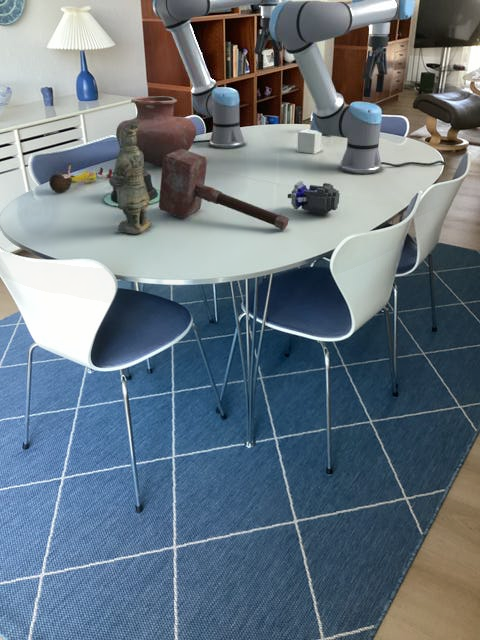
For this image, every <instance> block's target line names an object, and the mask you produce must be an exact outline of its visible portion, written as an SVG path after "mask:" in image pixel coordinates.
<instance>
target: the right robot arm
mask: <svg viewBox="0 0 480 640" xmlns="http://www.w3.org/2000/svg"><path fill="white" fill-rule="evenodd" d="M415 4H416V3H415V0H351V2H350V3H347V2H345V1H323V0H296V1H293V0H287V1H286V0H285V1H281V2H279V3H277V5H276V6H275V8H274V9H273V11H272V14H271V17H270V22H269V29H270V34H271V36H272V38H273V39H274V40H276V41H279V42H280V41H281V43H282V46H283V47H284V49H285V51H286V53H287V54H289V55H292V56H293V58H294V60H295V63H296V64H297V67H298V70H299V71H300V75H301V76H302V78H303V80H304V83H305V85H306V87H307V89H308V92H309V94H310V96H311V98H312V100H313V103H314V105H313V109H312V114H311V116H312V119H311V121H312V123H313V126H314V128H315V129H316V130H317V131H318V132H320V133H323V134H322V135H325V136H332V137H338V138H344V139H347V140H346V149H345V151H344V154H343V156H342V158H341V160H340V163H339V164H340V170H341V171H343V172H345V173H349V174H355V175H356V174H357V175H369V174H370V175H371V174H376V173H378V172H380V171H382V165H385V166H390V167H394V168H395V167H402V166H403V167H404V166H406V165H416V166H434V165H436V164H442V165H444V166H446V165H447V164H446V162H445V161H444V160H436V161H434V162H417V161H406V162H402V163H397V164H395V163H391V162H385V161H381V155H380V150H379V147H380V145H379V144H380V138H381V137H380V136H381V129H382V128H381V127H382V121H383V119H382V116H383V114H382V113H383V112H382V108H381V107H380V106H379V105H378V104H375V103H371V102H368V101H365V102H364V101H353V102H351V103H350V104H347V103H346V102H345V99H344V96H343V95H342V94H341V93H339V92H337V91H336V88H335V85H334V83H333V80H332V78H331V76H330V73H329V71H328V68H327V65H326V63H325V61H324V58H323V55H322V52H321V51H320V48H319V46H318V43H319V42H323V41H327V40H331V39H334V38H337V37H342V36H344V35H346V34H348V33H349V32H350V31H352V30H357V29H360V28H365V27H368V29H369V31H368V33H369V36H368V41H367V42H368V43H367V46H368V47H369V48H371V50H368V51H367V57H366V61H365V65H364V68H363V73H362V80H364V83H363V84H364V85H363V96H362V97H363V98H371V97H372V96H371V95H372V87H373V75H374V72H375V69H376V68H377V73H378V74H377V77H376V85H375V86H376V88H375V93H383V92H384V85H385V76H387V75H388V61H387V47H389V41H390V40H389V39H390V37H389V34H390V31H391V30H390V29H391V21H394V20H401V21H403V20H408V19H410V18H411V17H412V16H413V14H414V10H415Z"/></svg>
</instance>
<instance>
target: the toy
mask: <svg viewBox="0 0 480 640" xmlns="http://www.w3.org/2000/svg"><path fill="white" fill-rule="evenodd" d="M293 187H294V188H293V189H292V191H291V193H288V194H287V199H291V200H290V201H291V202H290V203H291V206H292V207H293V210H298V209H299V208H301V210H303V211H306V212H307V214H310V215H311V214H312V215H318V216H326V215H328V213H330V212H331V211H336V210H337V209H338V205H339V204H340V194H341V193H340V190H338V189H337V188H335V187H334V184H332V183H328V182H324V183H322V185H315V184H310V185H309V186H308V187H309V188H308V187H307V185H306V184H305V183H304V181H301V180H299V181H298V182H296V183H295V184H294V186H293Z"/></svg>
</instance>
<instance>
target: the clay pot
mask: <svg viewBox="0 0 480 640" xmlns="http://www.w3.org/2000/svg"><path fill="white" fill-rule="evenodd" d="M130 102H131V103H134V105H135V107H136V112H137V113H136V116H135V117H134V118H130V119H128V120H127V119H126V120H122V121H121V122H120V123H119V124H118V125H117V127H116V133H115V137H116V139H117V142H119V140H118V138H119V133H120V130H121V129H123V128H124V127H125V126H126V125H127V124H128V123H131V122H133V121H137V122H138V123H139V127H138V130H137V131H136V138H137V143H136V146H137V147H138V149H139V150H141V151H142V153H143V156H144V163H147V164H150V165H155V166H163V158H164V156H165V155H167V154H170V153H172V152H174V151H177V150H179V149H184V150H187V151H189V150H190V149H191V147H192V146H193V144H194V143H193V141H195V140H196V136H197V127H196V125H195V124H194V122H193V121H192V120H191V119H190V118H188V117H184V116H174V108H175V105H176V103H177V102H178V100H177V99H176V98H174V97H173V96H165V95H161V96H160V95H159V96H142V97H140V96H139V97H134V98H131V101H130Z"/></svg>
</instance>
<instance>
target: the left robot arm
mask: <svg viewBox="0 0 480 640" xmlns="http://www.w3.org/2000/svg"><path fill="white" fill-rule="evenodd" d="M278 2H279V0H152V9H153V12H154V14H155V16H156V17H157V18H158V19H159V20H161V21H162V23H163V25H164V27H165V30H166V31H168V32H170V33H171V34H172V38H173V41H174V43H175V45H176V48H177V50H178V52H179V56H180V58H181V60H182V63H183V66H184V68H185V71H186V73H187V75H188V77H189V80H190V82H191V85H192V88H191V95H192V98H191V104H192V106H193V108H194V110H195V111H196V112H197V113H198V114H200V115H202V116H205V117H210V118H212V119H213V120H212V123H213V125H212V131H211V135H210V139H201V140H194V141H193V144H200V143H201V144H202V143H209V145H210V147H211V148H216V149H235V148H240V147H242V146H244V145H245V140H244V139H245V138H244V136H243V132H242V130H241V127H240V125H241V124H240V101H241V100H240V94H239V92H238V90H236V89H234V88H232V87H226V86H224V87H223V86H221V87H220V86H219V87H218V85H217V82H216V80H214V79H212V78H211V76H210V73H209V70H208V68H207V65H206V63H205V60H204V57H203V55H202V52H201V49H200V47H199V43H198V41H197V39H196V36H195V34H194V30H193V27H192V25H191V21H192V19H194V18H198V17H203V16H208V14H209V13H210V12H215V11H222V10H229V9H233V8H241V7H247V6H253V5H259V4H260V27H261V28H262V29H258V33H257V38H256V43H255V47H254V51H253V52H254V54H255V55H257V56H256V57H257V70H258V71H264V51H265V48H266V45H267V42H269V41H270V42H271V44H272V47H273V49H274V51H273V67H275V68H279V67H280V57H281V56H280V55H281V54H280V53H281V52H282V51H283V47H284V46H283V43H282V42H281V41H280V42H279V41H276V40H274V39H273V38H272V36H271V34H270V29H269V22H270V17H271V14H272V11H273V9H274V8H275V6H276V5H277V4H278Z"/></svg>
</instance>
